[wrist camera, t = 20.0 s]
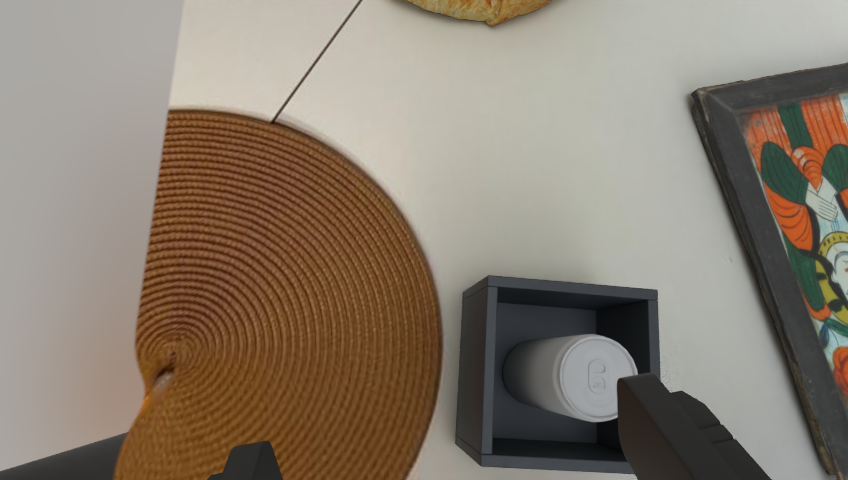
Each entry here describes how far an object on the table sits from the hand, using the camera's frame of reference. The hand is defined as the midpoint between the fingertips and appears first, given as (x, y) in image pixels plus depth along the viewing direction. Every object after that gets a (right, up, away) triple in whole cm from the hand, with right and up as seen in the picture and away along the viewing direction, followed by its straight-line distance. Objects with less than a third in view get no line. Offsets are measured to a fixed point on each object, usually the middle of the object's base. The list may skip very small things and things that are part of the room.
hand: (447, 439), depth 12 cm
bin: (+8, -6, +29) cm, 31 cm away
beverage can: (+8, -6, +29) cm, 30 cm away
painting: (+40, +4, +35) cm, 54 cm away
